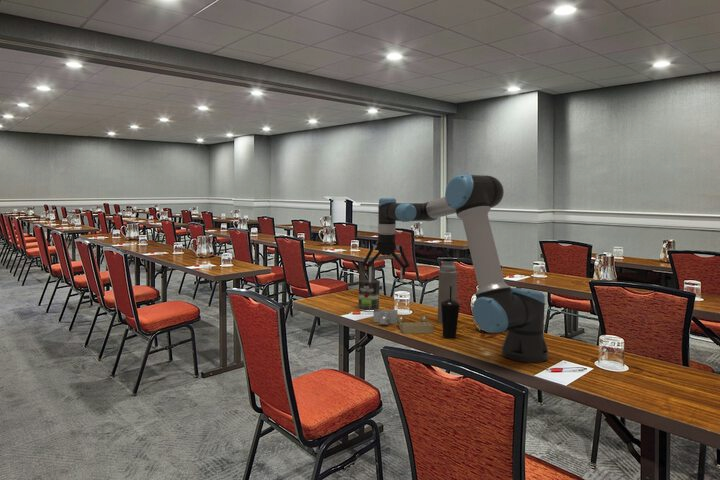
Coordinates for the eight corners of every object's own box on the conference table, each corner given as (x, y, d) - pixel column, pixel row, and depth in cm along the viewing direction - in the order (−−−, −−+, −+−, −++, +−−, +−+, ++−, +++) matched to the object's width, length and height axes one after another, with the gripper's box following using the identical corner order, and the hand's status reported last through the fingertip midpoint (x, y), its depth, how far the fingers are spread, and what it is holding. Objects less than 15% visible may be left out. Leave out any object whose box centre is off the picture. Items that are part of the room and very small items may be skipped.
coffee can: (376, 312, 233) (376, 283, 232) (355, 310, 236) (355, 281, 235) (381, 308, 243) (382, 279, 242) (361, 306, 246) (362, 278, 245)
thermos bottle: (437, 319, 221) (438, 257, 219) (455, 319, 220) (456, 257, 218) (438, 323, 213) (439, 259, 211) (456, 324, 212) (458, 259, 210)
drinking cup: (459, 340, 188) (460, 288, 186) (439, 339, 189) (440, 287, 188) (459, 335, 195) (460, 285, 194) (440, 333, 197) (441, 284, 195)
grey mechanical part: (374, 320, 219) (375, 309, 219) (397, 321, 218) (397, 309, 217) (371, 326, 207) (371, 315, 207) (395, 327, 206) (395, 316, 206)
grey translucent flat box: (433, 333, 198) (433, 322, 197) (403, 333, 196) (403, 322, 196) (425, 325, 210) (425, 314, 210) (396, 325, 209) (397, 315, 209)
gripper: (416, 233, 214) (414, 282, 216) (359, 232, 218) (358, 279, 220) (415, 235, 207) (414, 285, 209) (356, 233, 211) (356, 282, 213)
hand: (385, 282), depth 214 cm, fingers open, 13 cm apart
